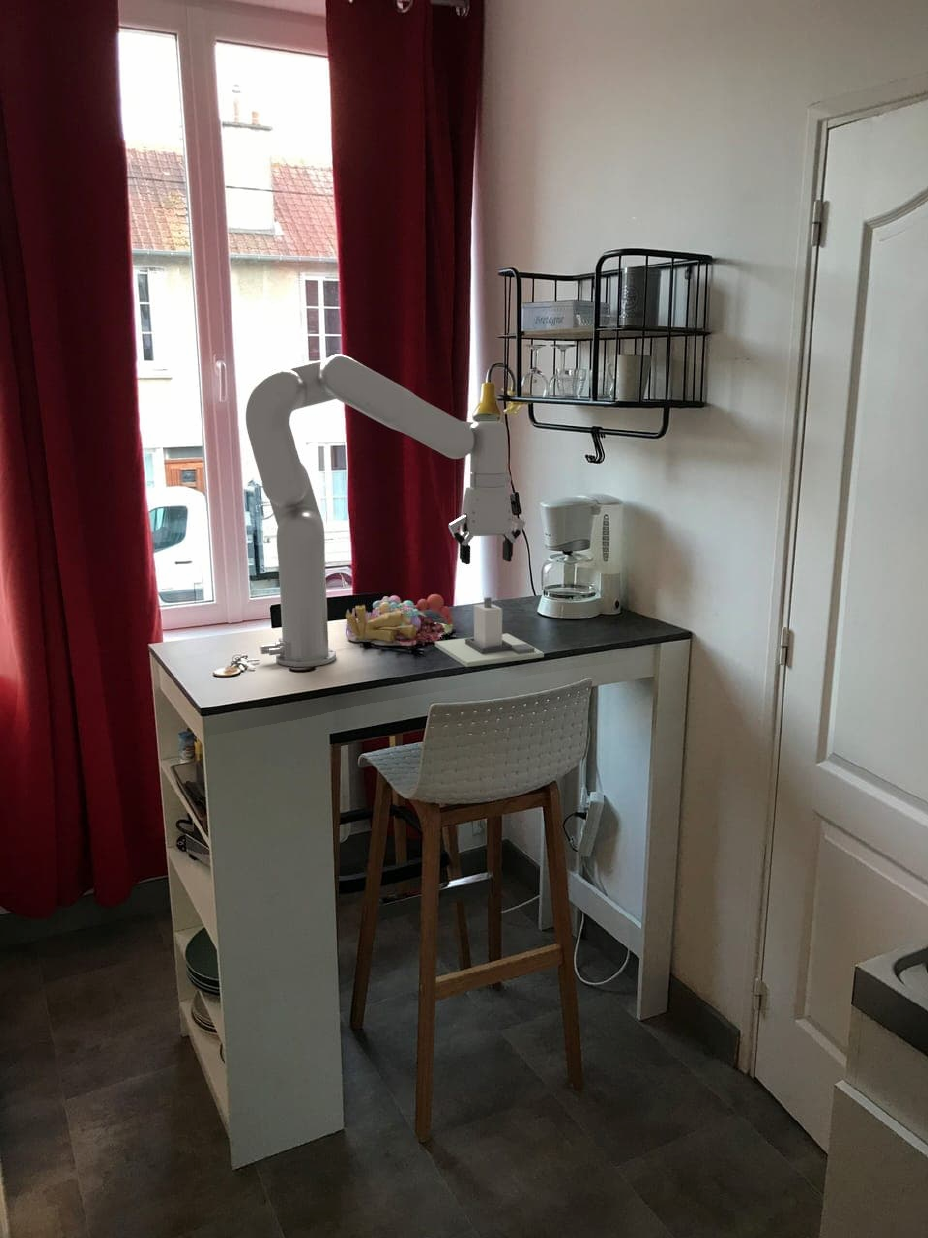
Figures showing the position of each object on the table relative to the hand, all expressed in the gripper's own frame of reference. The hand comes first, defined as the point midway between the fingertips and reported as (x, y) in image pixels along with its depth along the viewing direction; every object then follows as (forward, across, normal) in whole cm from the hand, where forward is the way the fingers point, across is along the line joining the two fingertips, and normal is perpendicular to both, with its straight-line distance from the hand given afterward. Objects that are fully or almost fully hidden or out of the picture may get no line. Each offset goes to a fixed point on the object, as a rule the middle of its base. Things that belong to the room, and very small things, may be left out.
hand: (486, 561), depth 208 cm
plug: (+19, -1, 0) cm, 19 cm away
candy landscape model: (+21, +12, -22) cm, 33 cm away
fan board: (+20, -1, 0) cm, 20 cm away
